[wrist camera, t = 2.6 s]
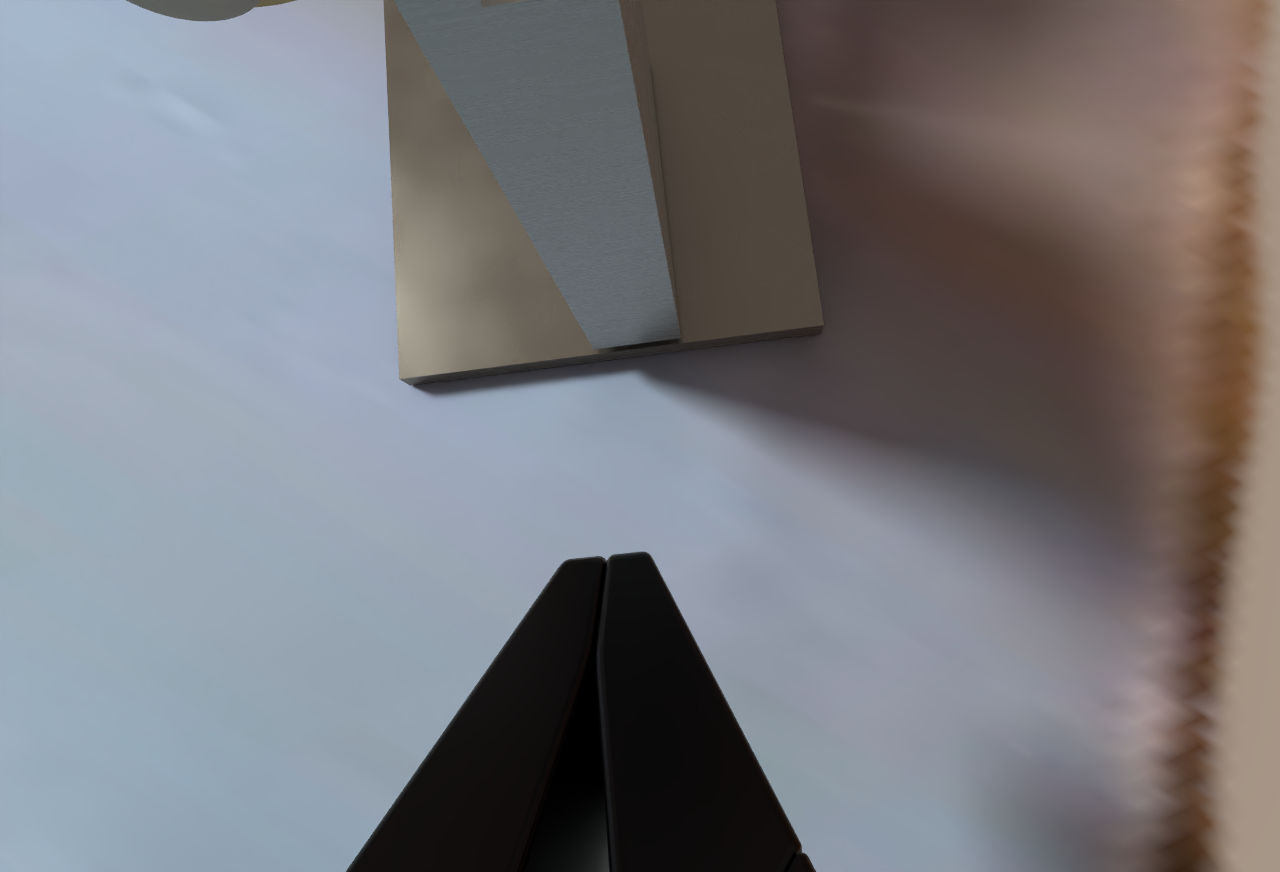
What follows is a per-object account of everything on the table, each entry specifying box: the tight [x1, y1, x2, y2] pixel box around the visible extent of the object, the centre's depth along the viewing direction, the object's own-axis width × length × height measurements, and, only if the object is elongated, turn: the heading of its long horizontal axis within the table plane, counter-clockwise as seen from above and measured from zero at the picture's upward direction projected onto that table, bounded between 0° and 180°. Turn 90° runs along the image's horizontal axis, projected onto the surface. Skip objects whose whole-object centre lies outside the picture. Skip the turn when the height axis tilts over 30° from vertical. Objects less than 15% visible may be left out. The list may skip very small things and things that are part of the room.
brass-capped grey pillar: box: [127, 0, 681, 349], centre depth 9 cm, size 7×4×11 cm, turn 6°
